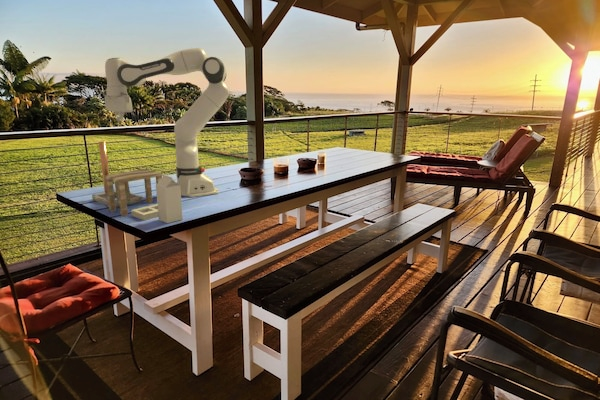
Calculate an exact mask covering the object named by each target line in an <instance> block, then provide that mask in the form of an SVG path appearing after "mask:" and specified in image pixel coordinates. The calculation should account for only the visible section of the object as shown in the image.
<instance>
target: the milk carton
mask: <svg viewBox="0 0 600 400" xmlns="http://www.w3.org/2000/svg"><path fill="white" fill-rule="evenodd" d="M155 190H156V202H157V203H156V204H157V205H158V217H157V218H158V220H159V221H161V222H164V223H166V224H171V223H173V222H178V221H182V220H183V209H182V208H183V207H182V196H181V189H180V185H179V184H178V183H177V180H176V178H174V177H172V176H169V175H166V174H163V175H162V179H161V180H160V181H159V182H158V183H157V184H156V183H155Z"/></svg>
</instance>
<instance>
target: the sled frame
mask: <svg viewBox="0 0 600 400" xmlns="http://www.w3.org/2000/svg"><path fill="white" fill-rule="evenodd" d="M98 149H99V157H100V164H101V165H100V166H101V173H102V175H101V176H102V181H103V183H102V184H103V189H104V192H100V193H94V194H92V195H91V198H92V201H95V202H97V203H99V204H102V205H105V206H108V207H109V202H108V194H107V185H106V178H105V175H110V170H109V161H108V154H107V153H108V151H107V143H106V141H98ZM130 195H131V198H130V199H126V203H127V206H128V205H132V204H137V203H142V202H143V197H142V195H139V194H135V193H132V192H130ZM114 196H115V198H116V189H114ZM115 205H116V208H118V207H119V208H120V202H119V201H117V200H115Z"/></svg>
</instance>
